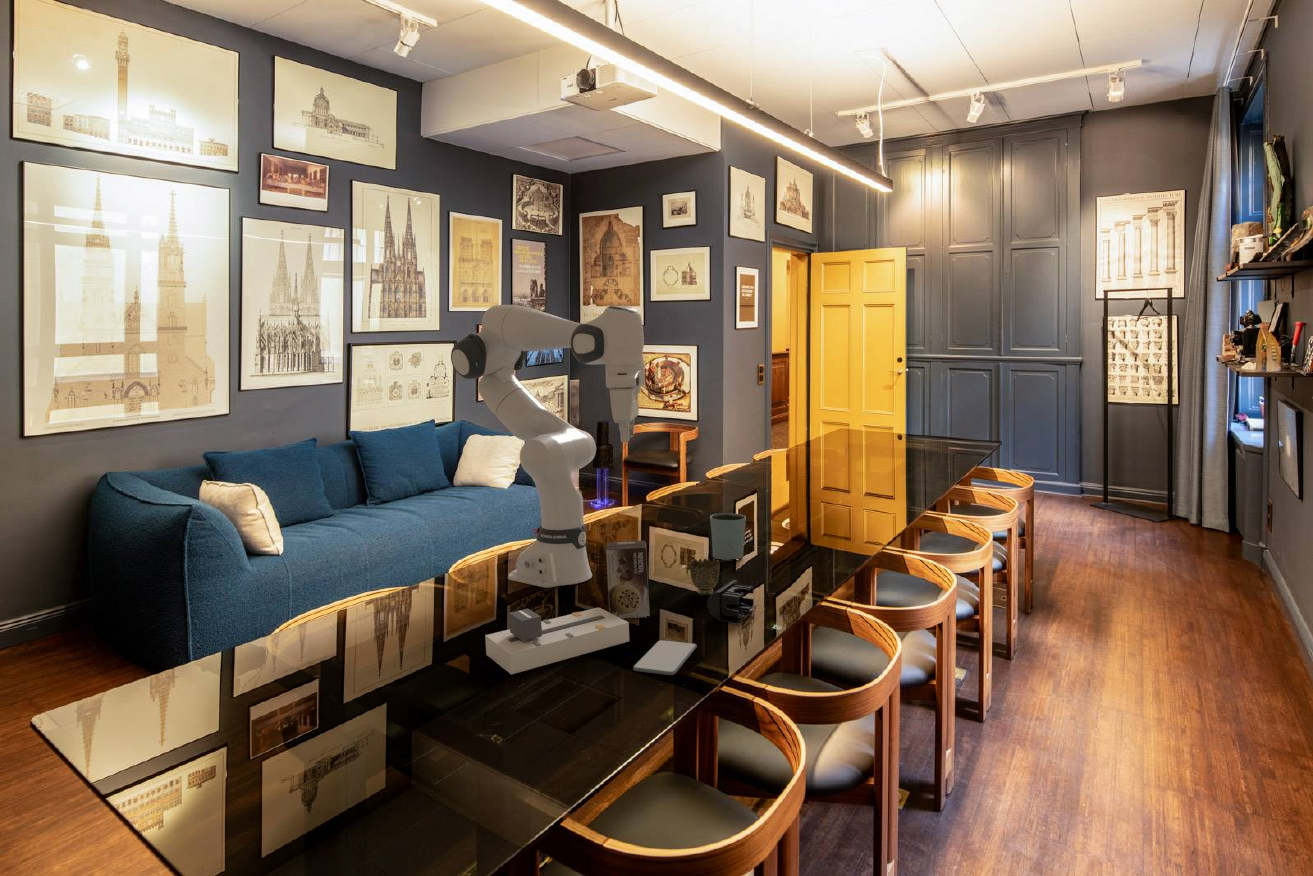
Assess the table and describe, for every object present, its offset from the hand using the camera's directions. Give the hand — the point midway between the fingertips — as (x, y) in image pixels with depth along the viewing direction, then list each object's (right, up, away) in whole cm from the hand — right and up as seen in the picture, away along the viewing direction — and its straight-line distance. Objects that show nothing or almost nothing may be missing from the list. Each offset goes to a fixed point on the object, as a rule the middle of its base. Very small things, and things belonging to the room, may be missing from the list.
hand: (627, 439), depth 172 cm
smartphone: (+8, -43, -25) cm, 50 cm away
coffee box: (0, -40, 0) cm, 40 cm away
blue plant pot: (+27, -34, +44) cm, 62 cm away
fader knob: (-19, -38, -23) cm, 49 cm away
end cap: (+23, -39, -3) cm, 46 cm away
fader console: (-13, -42, -19) cm, 48 cm away
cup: (+18, -38, +12) cm, 44 cm away
